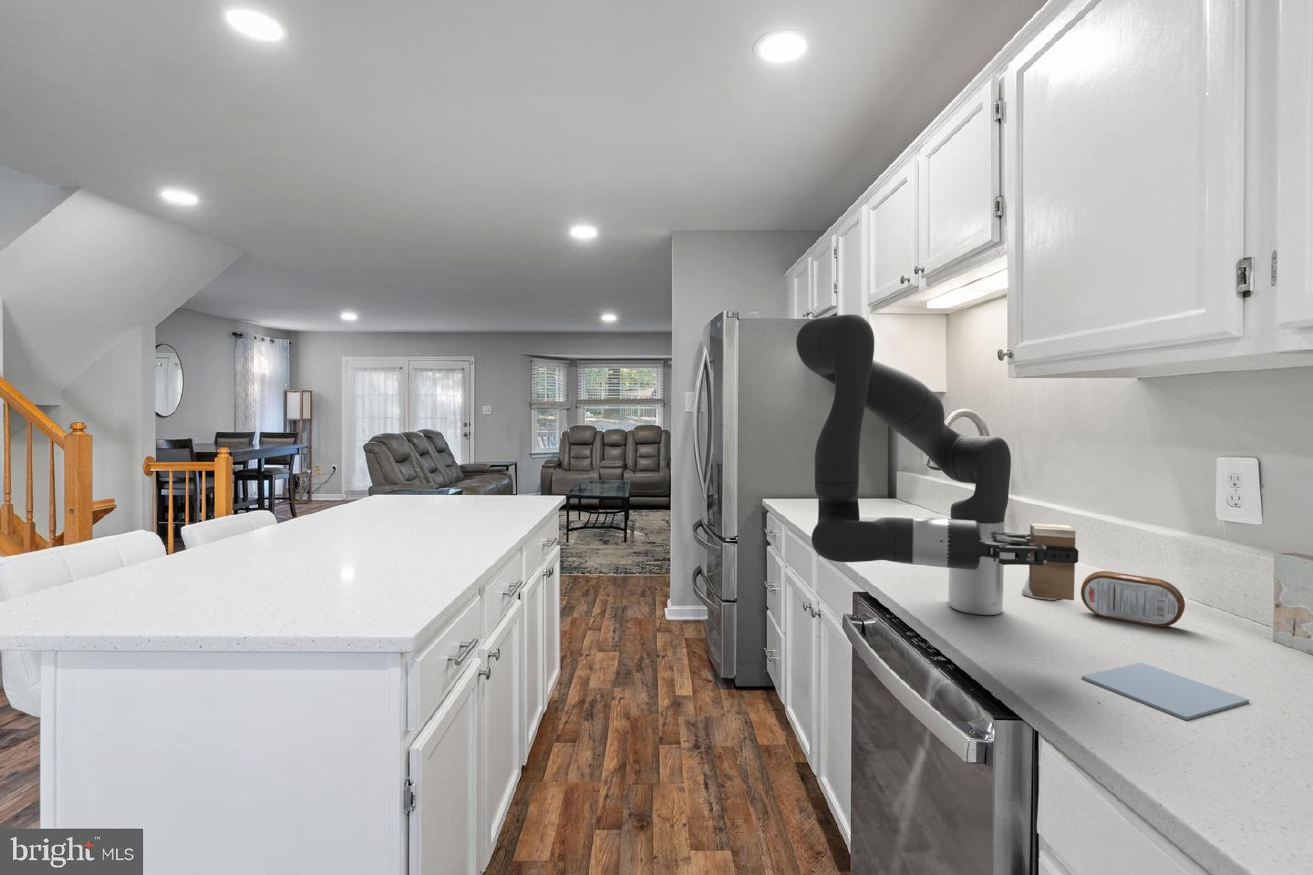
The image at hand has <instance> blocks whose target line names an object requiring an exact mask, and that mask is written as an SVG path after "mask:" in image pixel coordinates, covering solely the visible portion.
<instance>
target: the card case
mask: <svg viewBox="0 0 1313 875" xmlns="http://www.w3.org/2000/svg"><path fill="white" fill-rule="evenodd" d="M1076 532H1077V531H1076V530H1075V529H1074V528H1073V527H1072V526H1070V525H1066V524H1063V525H1062V524H1047V523H1046V524H1045V523H1030V524H1029V534H1030V543H1033V544H1044V545H1048V546H1063V547H1075V548H1076ZM1029 556H1031V557H1034V551H1030V554H1029ZM1075 565H1076V563H1075V564H1074V563H1061V562H1048V561H1047V563H1044V565H1041V566H1038V565H1028V566H1029V567H1028V568H1029V569H1028V570H1029V572H1028V576H1029V590H1030V591H1031V593H1032V595H1033V597H1032V598H1034V597H1043V598H1054V599H1056V600H1063V601H1064V600H1065V601H1075V574H1076V573H1075V570H1076V566H1075Z"/></svg>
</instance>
